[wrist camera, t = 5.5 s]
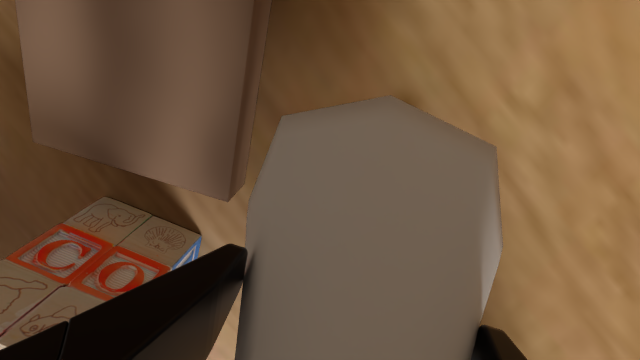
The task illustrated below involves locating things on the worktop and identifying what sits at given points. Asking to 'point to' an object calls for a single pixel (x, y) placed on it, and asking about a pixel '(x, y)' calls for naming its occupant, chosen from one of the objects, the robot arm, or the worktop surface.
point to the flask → (369, 237)
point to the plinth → (147, 84)
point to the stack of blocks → (86, 265)
